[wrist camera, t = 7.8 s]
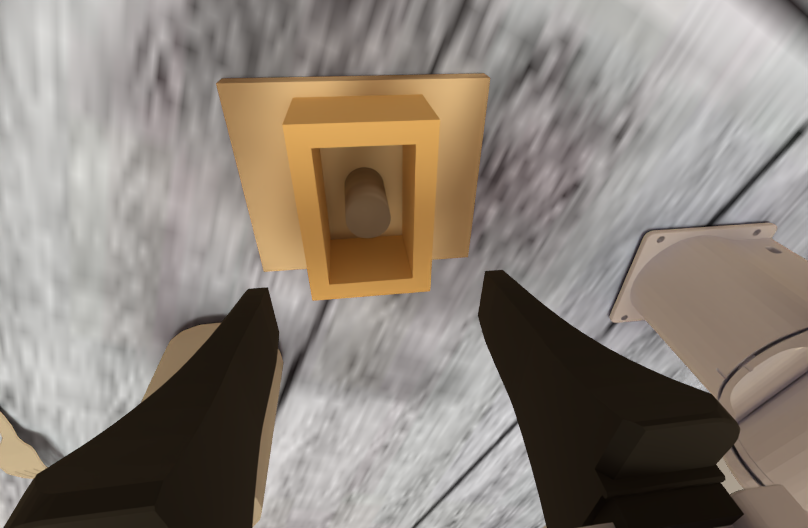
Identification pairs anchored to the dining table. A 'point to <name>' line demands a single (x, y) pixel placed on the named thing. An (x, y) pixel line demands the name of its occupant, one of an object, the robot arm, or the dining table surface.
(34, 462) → the fork
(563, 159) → the dining table surface
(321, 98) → the link
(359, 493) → the dining table surface
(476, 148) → the wooden block with peg
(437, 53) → the dining table surface
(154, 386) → the can
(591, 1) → the dining table surface
